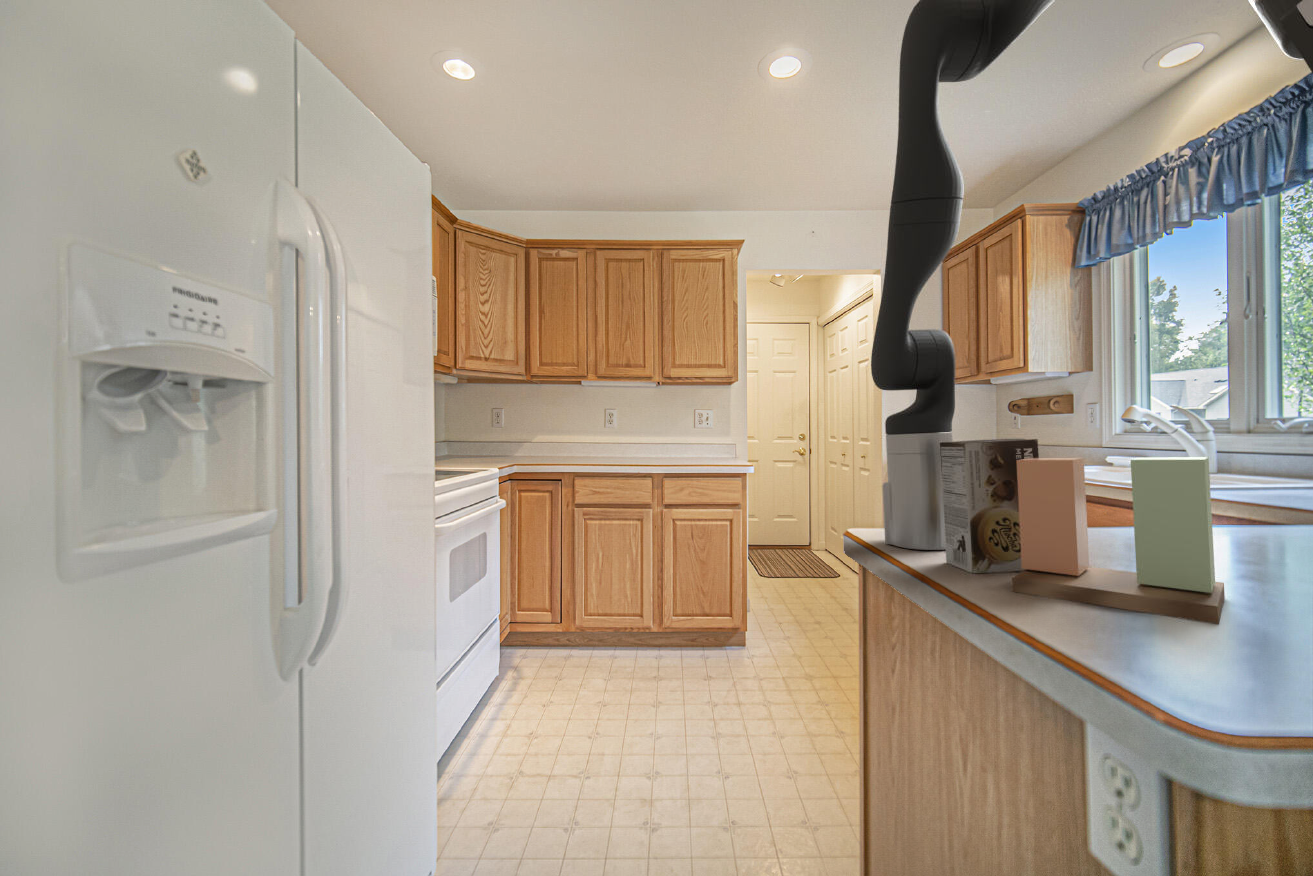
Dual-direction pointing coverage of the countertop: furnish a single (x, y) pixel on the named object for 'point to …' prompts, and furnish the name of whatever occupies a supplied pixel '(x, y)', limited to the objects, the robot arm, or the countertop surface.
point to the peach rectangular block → (1053, 515)
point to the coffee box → (983, 502)
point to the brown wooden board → (1123, 593)
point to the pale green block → (1173, 522)
